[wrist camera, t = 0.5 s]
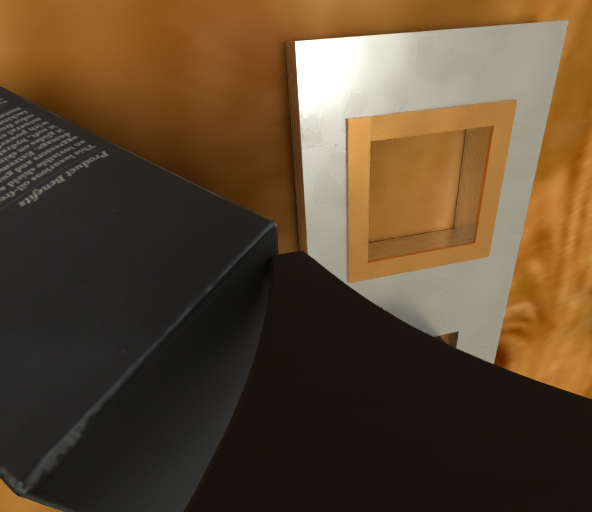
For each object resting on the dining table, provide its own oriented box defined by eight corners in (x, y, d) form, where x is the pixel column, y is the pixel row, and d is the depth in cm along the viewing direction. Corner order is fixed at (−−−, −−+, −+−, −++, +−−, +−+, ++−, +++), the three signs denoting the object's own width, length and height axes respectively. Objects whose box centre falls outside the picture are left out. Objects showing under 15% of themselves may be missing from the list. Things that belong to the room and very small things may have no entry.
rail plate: (464, 412, 31) (480, 433, 30) (313, 451, 29) (321, 477, 27) (537, 22, 19) (572, 19, 17) (285, 41, 17) (296, 41, 15)
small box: (120, 279, 20) (294, 398, 17) (-5, 385, 17) (180, 563, 13) (3, 71, 12) (297, 216, 8) (-285, 194, 9) (-1, 528, 5)
